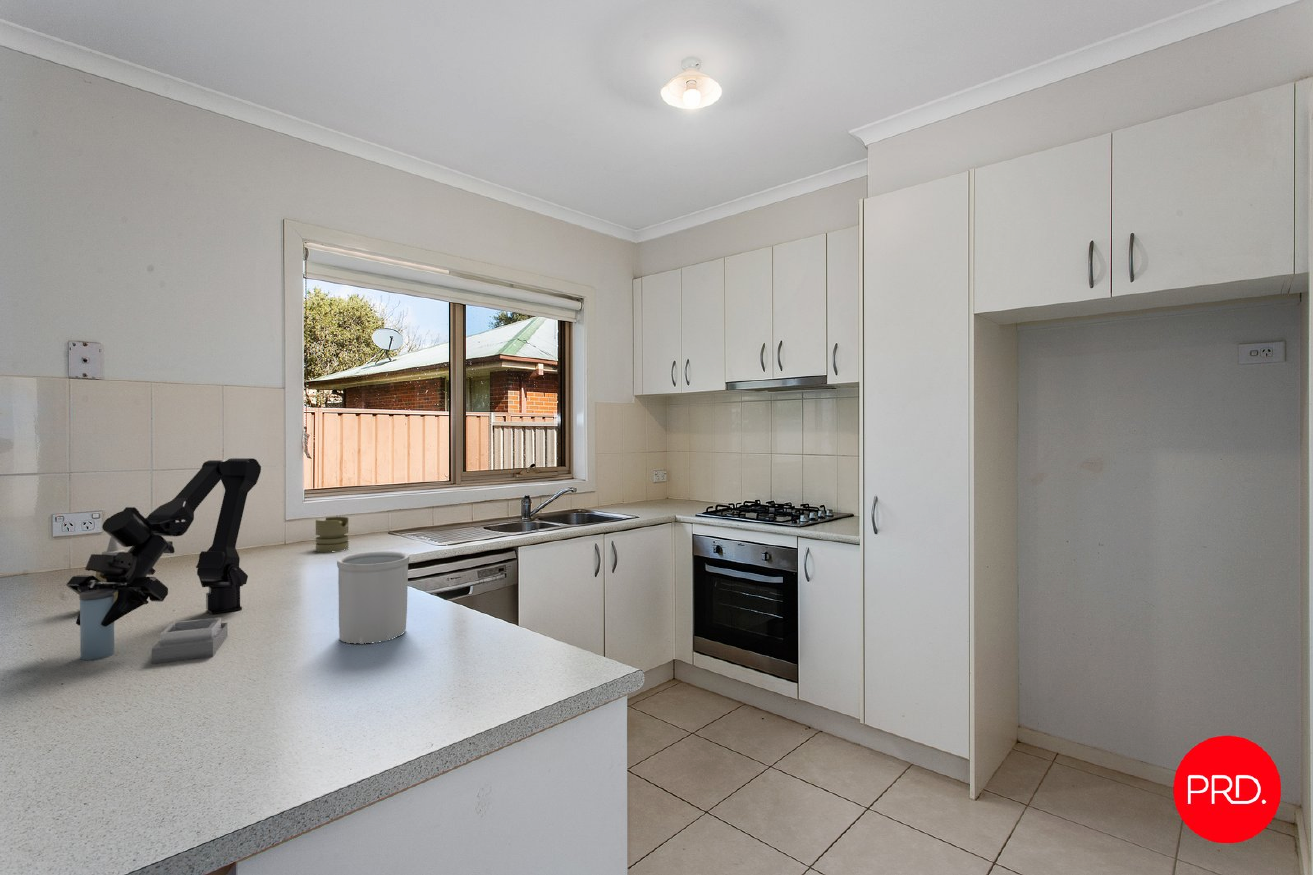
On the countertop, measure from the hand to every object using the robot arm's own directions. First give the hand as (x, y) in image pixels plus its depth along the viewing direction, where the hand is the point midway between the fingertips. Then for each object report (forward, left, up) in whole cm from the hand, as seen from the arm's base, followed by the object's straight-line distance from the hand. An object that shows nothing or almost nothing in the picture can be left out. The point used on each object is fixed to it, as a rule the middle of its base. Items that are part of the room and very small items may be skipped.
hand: (90, 625), depth 127 cm
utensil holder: (-46, +25, -7) cm, 53 cm away
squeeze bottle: (-6, -47, -7) cm, 48 cm away
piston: (-73, -92, -7) cm, 118 cm away
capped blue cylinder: (-1, -1, -7) cm, 7 cm away
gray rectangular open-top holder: (-15, +8, -7) cm, 19 cm away
